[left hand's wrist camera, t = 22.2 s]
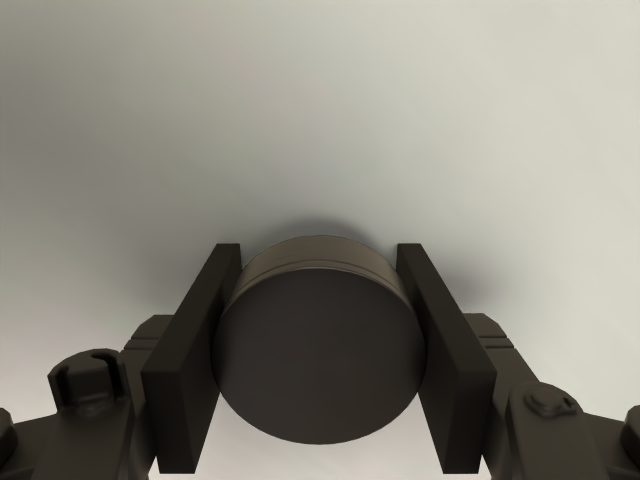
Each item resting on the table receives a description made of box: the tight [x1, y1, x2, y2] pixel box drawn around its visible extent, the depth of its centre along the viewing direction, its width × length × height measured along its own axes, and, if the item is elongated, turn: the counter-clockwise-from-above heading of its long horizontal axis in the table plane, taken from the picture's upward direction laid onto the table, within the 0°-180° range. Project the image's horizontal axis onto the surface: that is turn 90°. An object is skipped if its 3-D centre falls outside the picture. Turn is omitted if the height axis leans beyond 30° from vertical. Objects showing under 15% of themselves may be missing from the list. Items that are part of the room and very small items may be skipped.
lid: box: [211, 235, 427, 445], centre depth 11 cm, size 5×5×2 cm
